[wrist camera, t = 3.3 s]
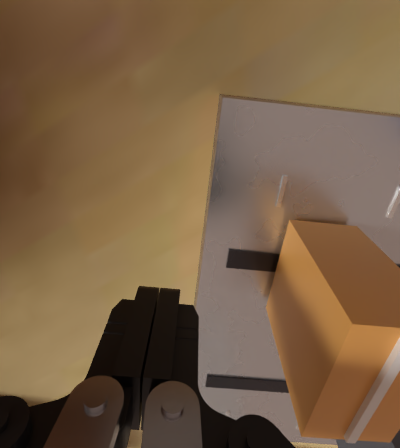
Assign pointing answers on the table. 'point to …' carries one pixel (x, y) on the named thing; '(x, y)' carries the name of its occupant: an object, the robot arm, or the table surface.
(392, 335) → the orange fader
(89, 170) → the table surface
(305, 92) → the table surface
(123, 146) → the table surface
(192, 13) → the table surface
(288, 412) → the console
